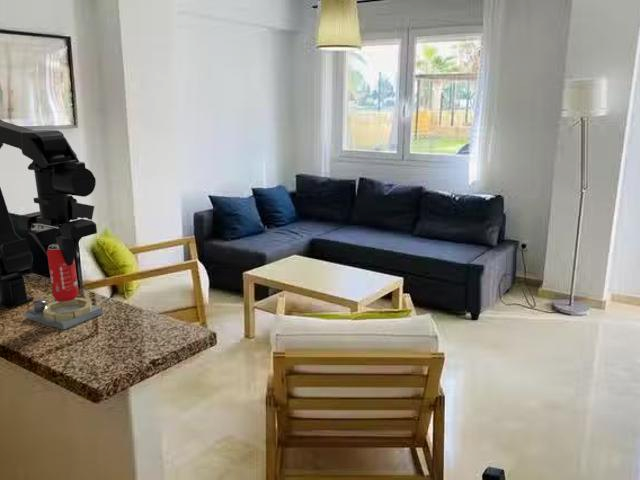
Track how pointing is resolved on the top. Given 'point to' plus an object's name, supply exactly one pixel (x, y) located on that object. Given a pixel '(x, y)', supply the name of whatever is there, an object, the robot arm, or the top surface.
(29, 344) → the top surface
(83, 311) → the grey plate with ring
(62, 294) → the beverage can
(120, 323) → the top surface
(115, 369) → the top surface
